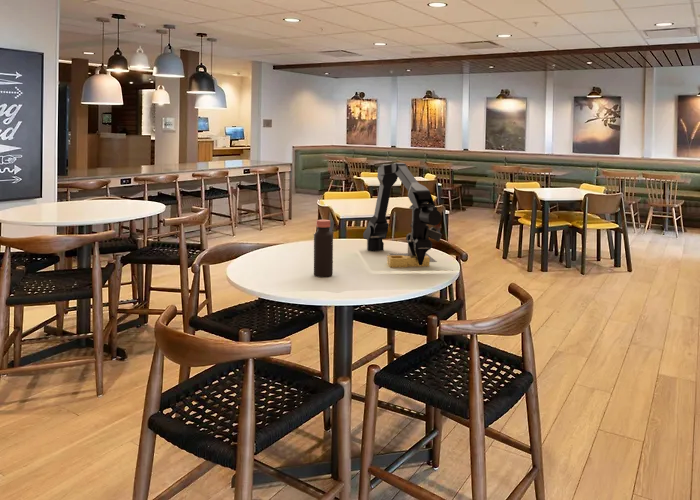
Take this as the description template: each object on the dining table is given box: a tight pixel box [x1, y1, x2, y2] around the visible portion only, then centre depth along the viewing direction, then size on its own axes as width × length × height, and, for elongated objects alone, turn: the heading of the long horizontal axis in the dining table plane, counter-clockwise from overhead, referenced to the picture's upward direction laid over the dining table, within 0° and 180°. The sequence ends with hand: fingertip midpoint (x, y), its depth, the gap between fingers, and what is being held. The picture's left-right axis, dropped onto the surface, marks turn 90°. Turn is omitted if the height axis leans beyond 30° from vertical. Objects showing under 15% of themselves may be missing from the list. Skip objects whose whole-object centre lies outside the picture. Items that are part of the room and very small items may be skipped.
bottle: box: [313, 219, 334, 278], centre depth 220 cm, size 7×7×20 cm
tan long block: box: [386, 254, 431, 268], centre depth 235 cm, size 15×6×4 cm, turn 96°
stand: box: [389, 244, 438, 263], centre depth 250 cm, size 16×18×8 cm
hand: (418, 262), depth 235 cm, fingers open, 9 cm apart
